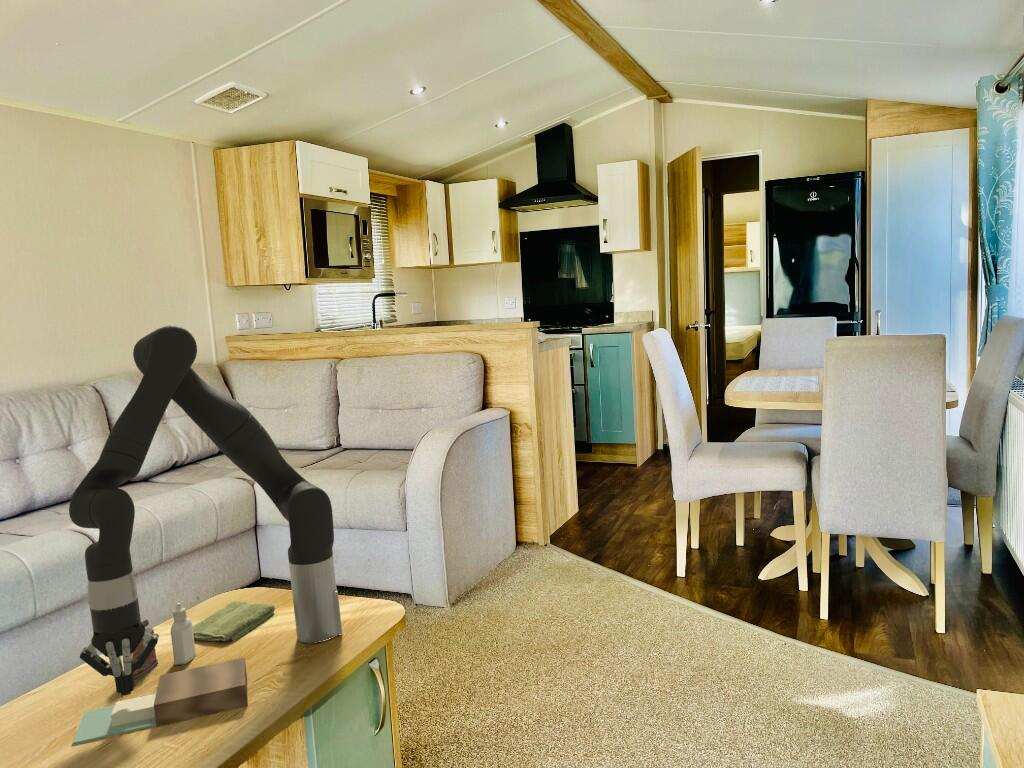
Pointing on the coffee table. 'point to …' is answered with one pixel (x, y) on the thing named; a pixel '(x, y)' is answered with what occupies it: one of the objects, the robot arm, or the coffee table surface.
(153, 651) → the lighter
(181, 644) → the eye dropper bottle
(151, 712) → the tile
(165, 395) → the robot arm
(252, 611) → the washcloth
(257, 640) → the coffee table surface
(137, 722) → the mat
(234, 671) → the wooden block
